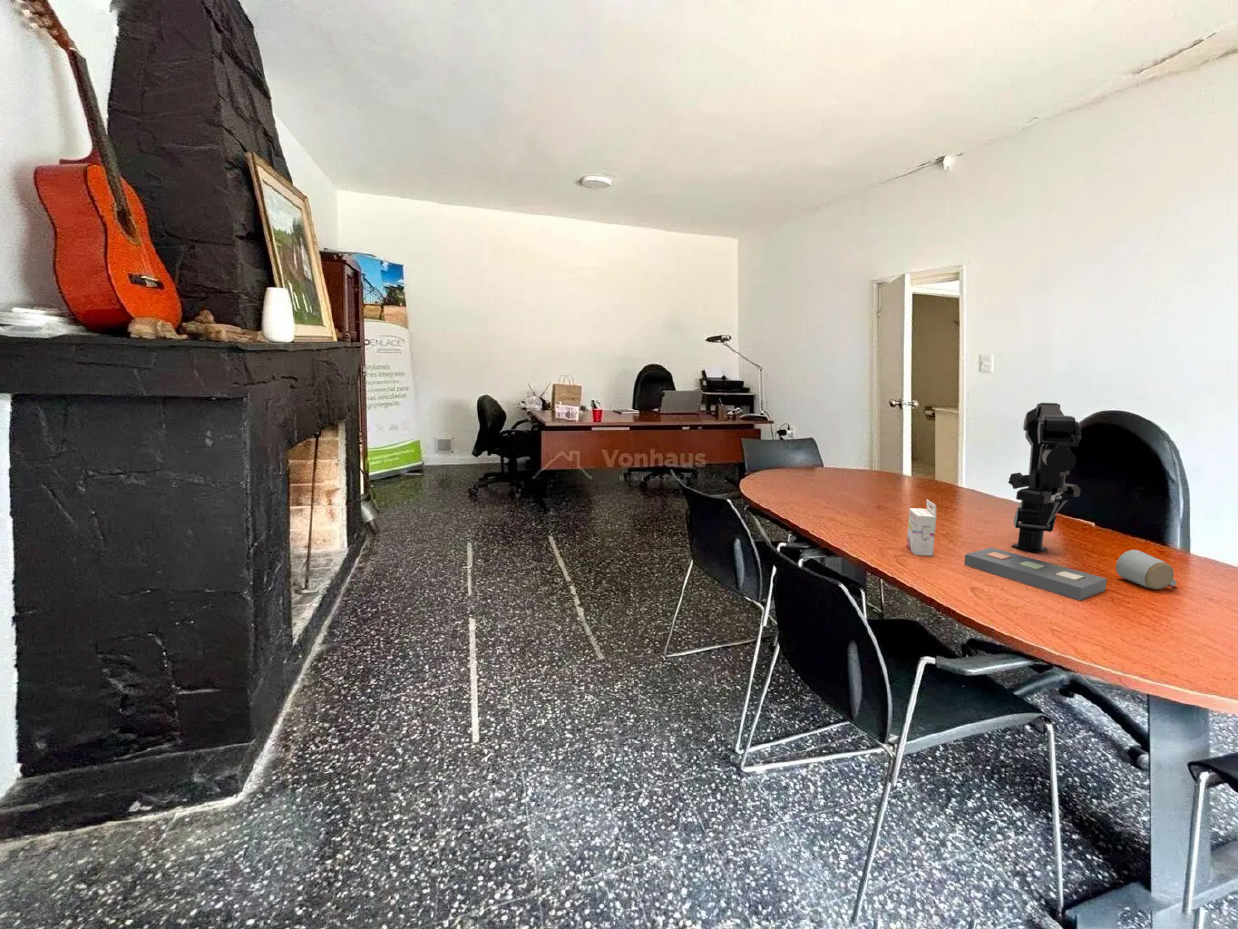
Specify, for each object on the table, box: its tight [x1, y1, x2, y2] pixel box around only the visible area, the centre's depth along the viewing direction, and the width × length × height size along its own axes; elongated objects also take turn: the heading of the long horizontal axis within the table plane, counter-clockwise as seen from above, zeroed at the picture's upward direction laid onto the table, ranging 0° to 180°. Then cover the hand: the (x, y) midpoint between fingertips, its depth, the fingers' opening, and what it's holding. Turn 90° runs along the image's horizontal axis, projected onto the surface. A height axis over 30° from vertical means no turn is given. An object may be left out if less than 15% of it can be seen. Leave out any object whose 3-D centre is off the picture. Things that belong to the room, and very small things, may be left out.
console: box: [963, 547, 1108, 601], centre depth 139 cm, size 12×26×3 cm, turn 27°
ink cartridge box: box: [906, 498, 937, 557], centre depth 158 cm, size 9×5×15 cm, turn 168°
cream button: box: [1055, 571, 1084, 581], centre depth 132 cm, size 4×4×2 cm
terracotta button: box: [986, 552, 1011, 560], centre depth 146 cm, size 4×4×2 cm
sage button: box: [1019, 561, 1045, 570], centre depth 139 cm, size 4×4×2 cm
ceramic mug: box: [1115, 549, 1177, 590], centre depth 134 cm, size 11×8×8 cm
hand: (1044, 525), depth 143 cm, fingers closed
